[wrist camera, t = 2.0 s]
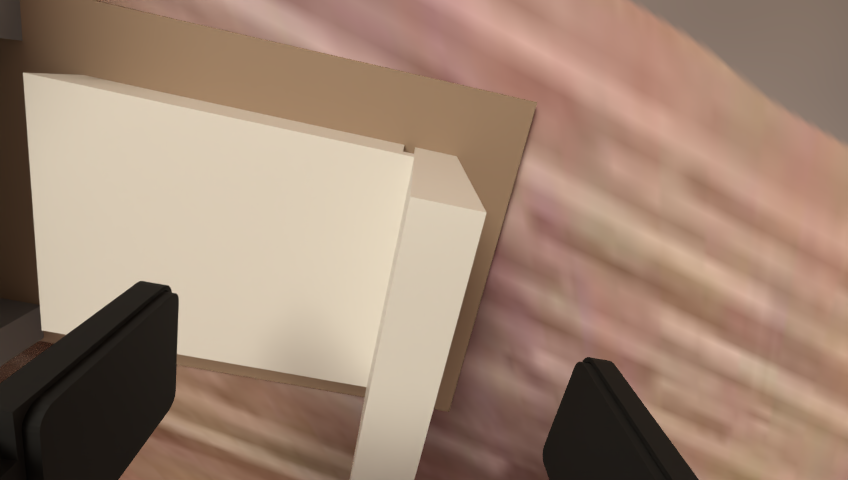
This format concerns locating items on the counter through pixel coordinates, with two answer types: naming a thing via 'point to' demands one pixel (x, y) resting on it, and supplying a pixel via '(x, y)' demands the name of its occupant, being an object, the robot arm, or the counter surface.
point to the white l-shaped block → (258, 242)
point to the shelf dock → (253, 91)
